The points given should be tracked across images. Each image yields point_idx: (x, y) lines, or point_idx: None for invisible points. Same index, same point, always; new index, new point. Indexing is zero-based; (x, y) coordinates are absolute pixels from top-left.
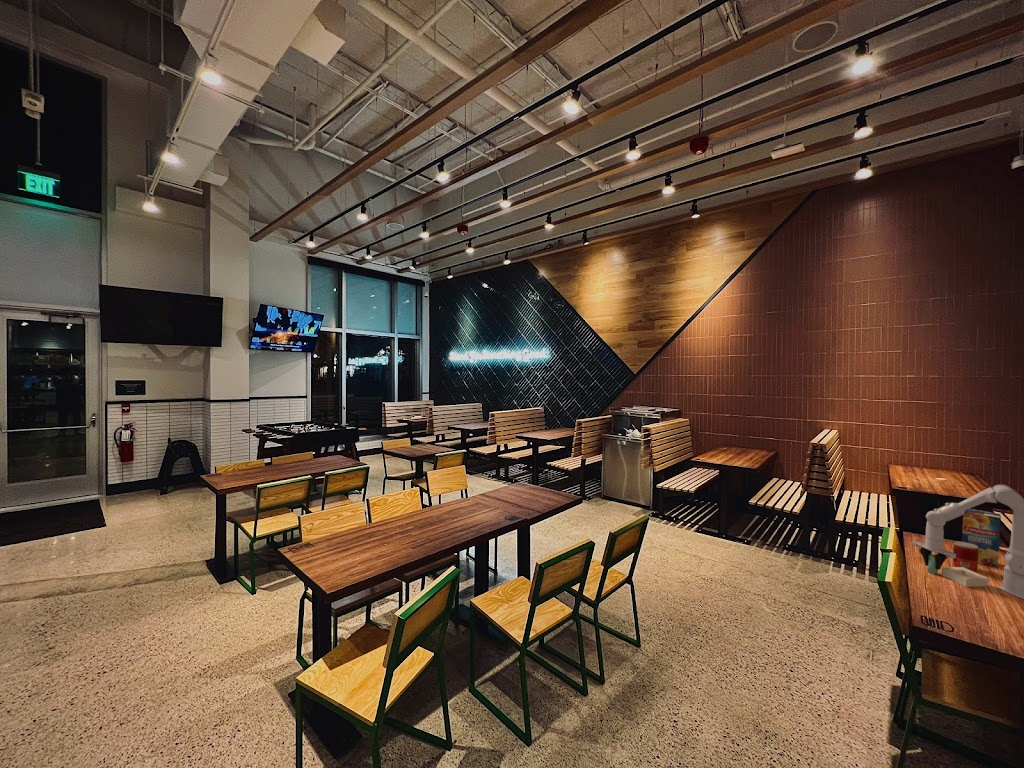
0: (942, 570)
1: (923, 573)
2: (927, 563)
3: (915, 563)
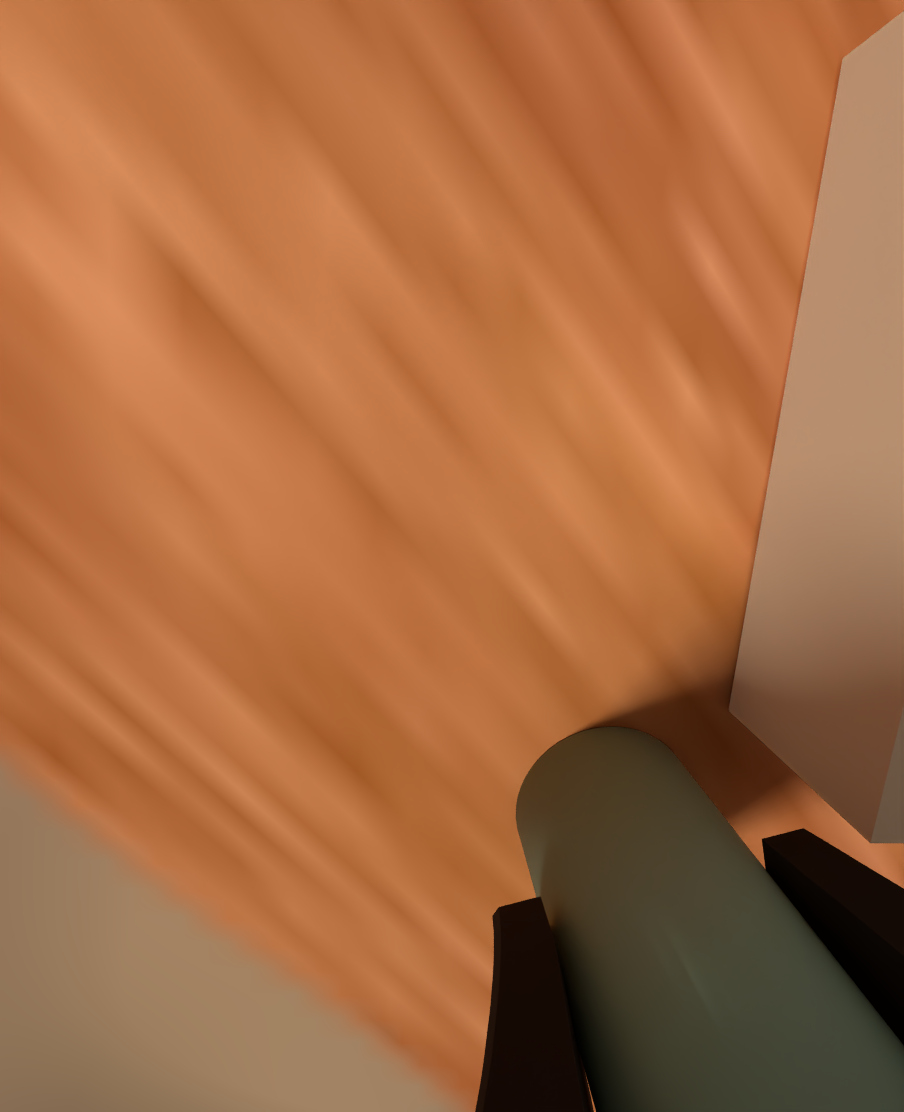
0: (836, 788)
1: None
2: (586, 1080)
3: (70, 733)
